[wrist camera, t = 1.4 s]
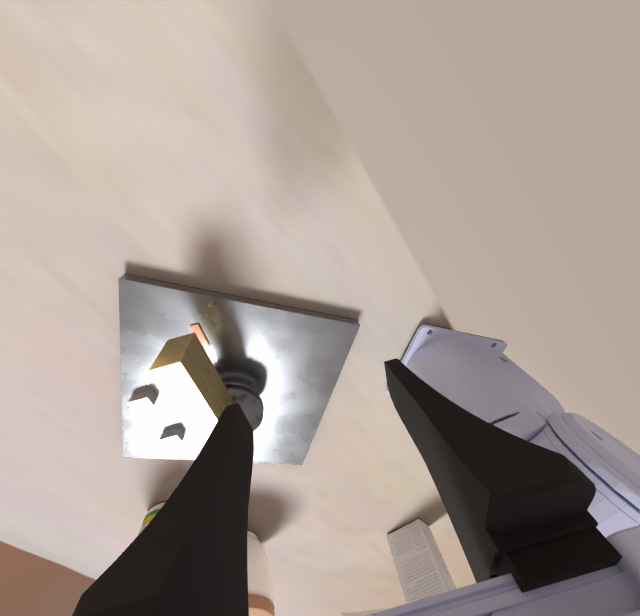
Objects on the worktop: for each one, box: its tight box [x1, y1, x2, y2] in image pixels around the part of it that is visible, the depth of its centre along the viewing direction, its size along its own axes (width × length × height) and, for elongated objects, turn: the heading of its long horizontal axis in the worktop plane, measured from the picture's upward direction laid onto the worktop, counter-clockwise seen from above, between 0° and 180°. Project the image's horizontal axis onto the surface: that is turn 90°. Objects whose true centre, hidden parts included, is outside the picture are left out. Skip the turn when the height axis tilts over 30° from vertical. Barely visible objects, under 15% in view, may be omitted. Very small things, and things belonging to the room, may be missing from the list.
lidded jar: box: [247, 531, 274, 616], centre depth 32 cm, size 11×11×9 cm
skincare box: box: [387, 519, 456, 604], centre depth 37 cm, size 6×4×12 cm
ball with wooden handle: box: [149, 332, 264, 446], centre depth 19 cm, size 11×5×4 cm, turn 13°
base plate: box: [119, 274, 360, 465], centre depth 23 cm, size 17×18×2 cm
